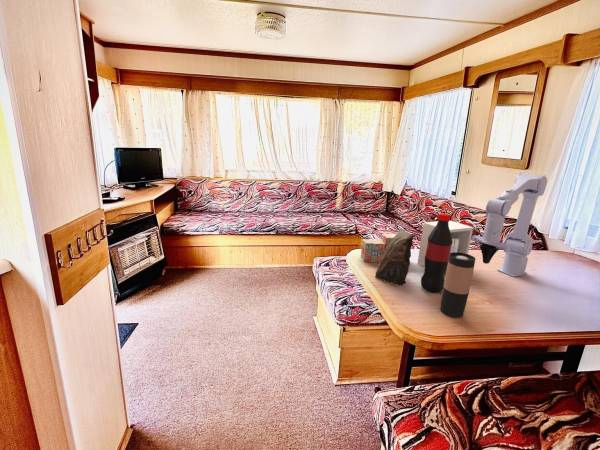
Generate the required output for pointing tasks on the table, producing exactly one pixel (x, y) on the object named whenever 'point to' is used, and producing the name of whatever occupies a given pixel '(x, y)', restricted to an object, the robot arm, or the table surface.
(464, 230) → the tall white box
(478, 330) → the table surface
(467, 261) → the travel mug
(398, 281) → the owl
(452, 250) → the metal cup
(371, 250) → the stack of blocks
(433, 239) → the cola bottle
